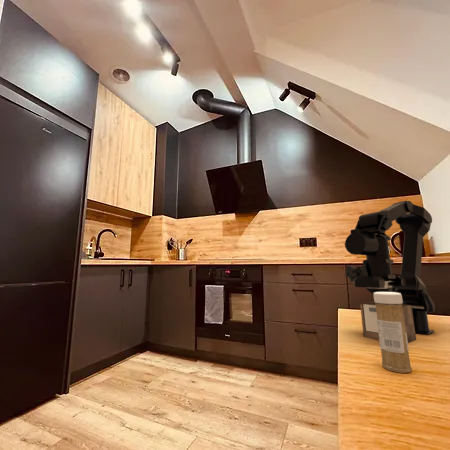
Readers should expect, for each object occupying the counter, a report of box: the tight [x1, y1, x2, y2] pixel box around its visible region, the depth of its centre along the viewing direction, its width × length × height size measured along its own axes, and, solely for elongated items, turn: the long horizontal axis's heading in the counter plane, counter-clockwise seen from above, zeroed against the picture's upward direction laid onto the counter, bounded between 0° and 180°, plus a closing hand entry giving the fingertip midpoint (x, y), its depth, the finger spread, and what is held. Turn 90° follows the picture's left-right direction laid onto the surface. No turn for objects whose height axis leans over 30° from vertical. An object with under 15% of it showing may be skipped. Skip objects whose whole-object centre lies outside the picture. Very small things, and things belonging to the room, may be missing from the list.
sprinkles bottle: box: [373, 292, 413, 374], centre depth 46 cm, size 5×5×13 cm
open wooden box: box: [359, 301, 417, 344], centre depth 66 cm, size 8×10×8 cm
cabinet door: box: [362, 303, 379, 333], centre depth 65 cm, size 1×8×7 cm, turn 37°
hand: (384, 314), depth 66 cm, fingers closed
